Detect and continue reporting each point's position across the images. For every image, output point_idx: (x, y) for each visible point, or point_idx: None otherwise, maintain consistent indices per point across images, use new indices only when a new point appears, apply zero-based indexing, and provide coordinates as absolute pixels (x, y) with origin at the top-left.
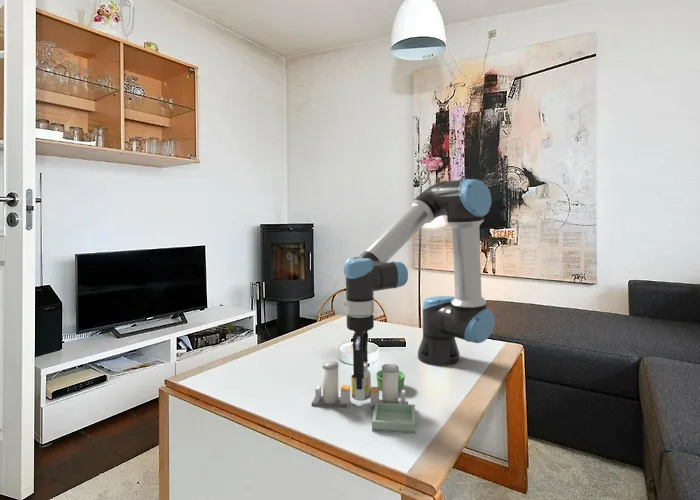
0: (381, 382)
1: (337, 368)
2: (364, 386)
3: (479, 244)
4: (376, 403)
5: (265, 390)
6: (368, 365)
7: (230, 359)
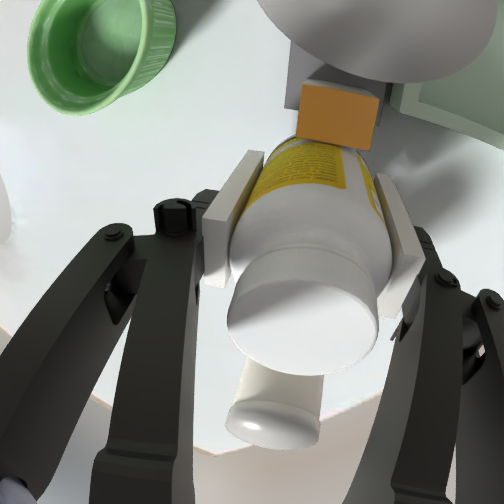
0: (141, 73)
1: (291, 400)
2: (405, 214)
3: None
4: (414, 111)
5: (224, 398)
6: (185, 214)
7: (111, 408)
